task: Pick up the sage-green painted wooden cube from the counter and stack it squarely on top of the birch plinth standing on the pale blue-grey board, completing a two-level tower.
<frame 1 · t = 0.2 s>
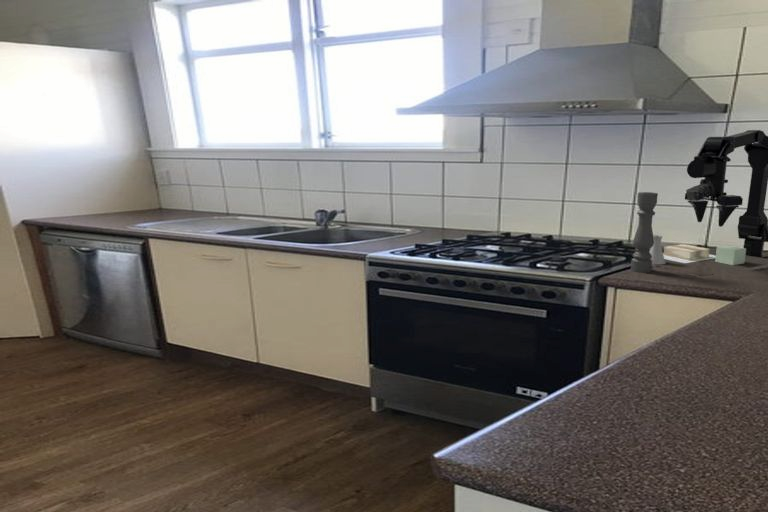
hand: (709, 224, 180), 14 cm above the worktop, tool pointing down, fingers open, 9 cm apart
birch plinth: (685, 256, 193), resting on pale blue-grey board
pale blue-grey board: (685, 258, 193), on the worktop
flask: (654, 265, 185), on the worktop
sage cube: (729, 265, 183), on the worktop
candle holder: (641, 270, 178), on the worktop
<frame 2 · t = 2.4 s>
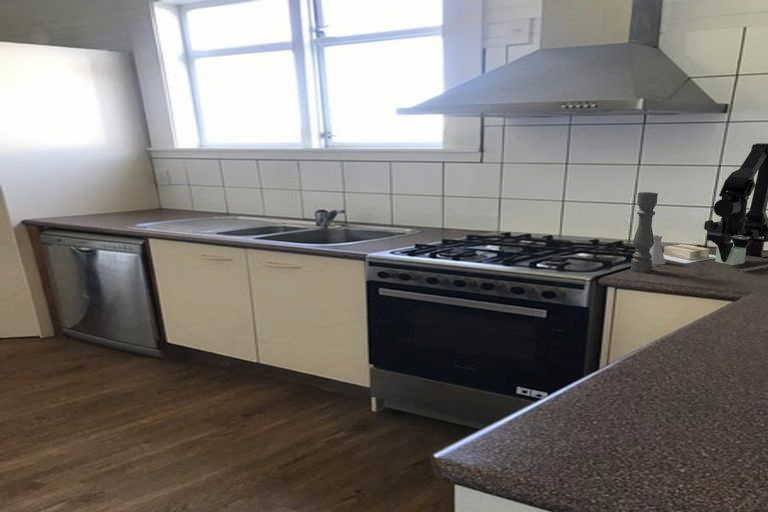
hand: (729, 260, 183), 2 cm above the worktop, tool pointing down, fingers closed on sage cube, 6 cm apart
sage cube: (729, 265, 183), on the worktop, touching gripper
everything else where it was.
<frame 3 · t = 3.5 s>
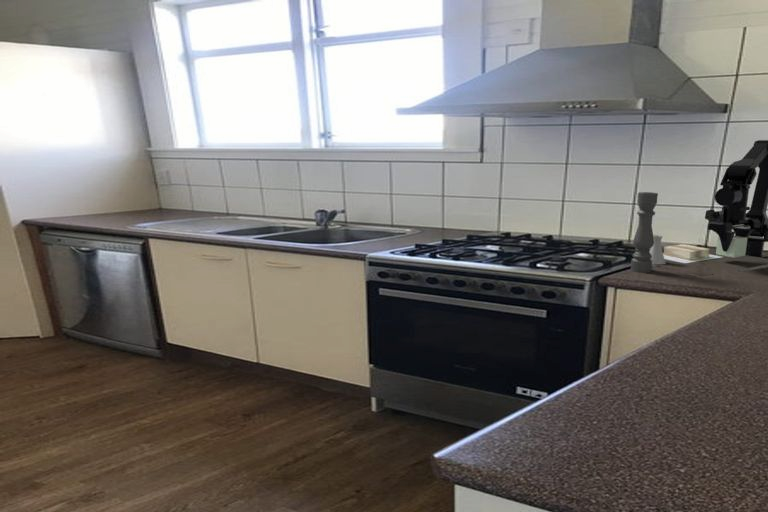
hand: (731, 250, 182), 5 cm above the worktop, tool pointing down, fingers closed on sage cube, 6 cm apart
sage cube: (730, 254, 182), point 4 cm above the worktop, touching gripper
everything else where it was.
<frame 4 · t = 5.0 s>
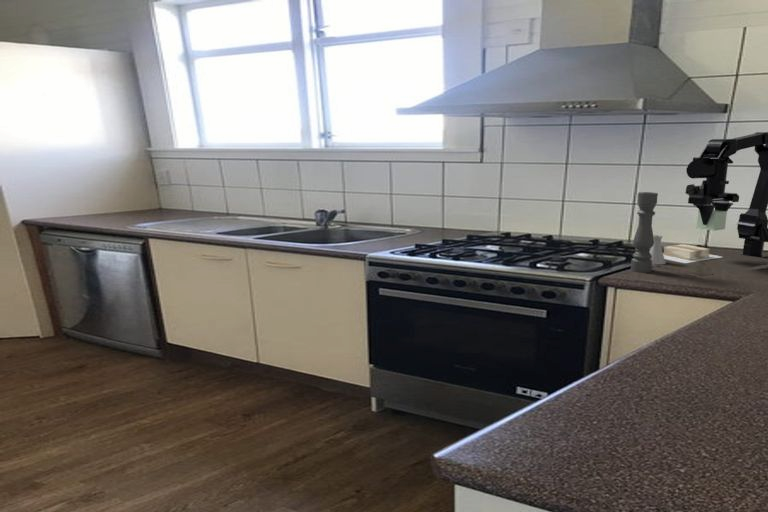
hand: (710, 224, 185), 13 cm above the worktop, tool pointing down, fingers closed on sage cube, 6 cm apart
sage cube: (710, 228, 186), point 12 cm above the worktop, touching gripper
everything else where it was.
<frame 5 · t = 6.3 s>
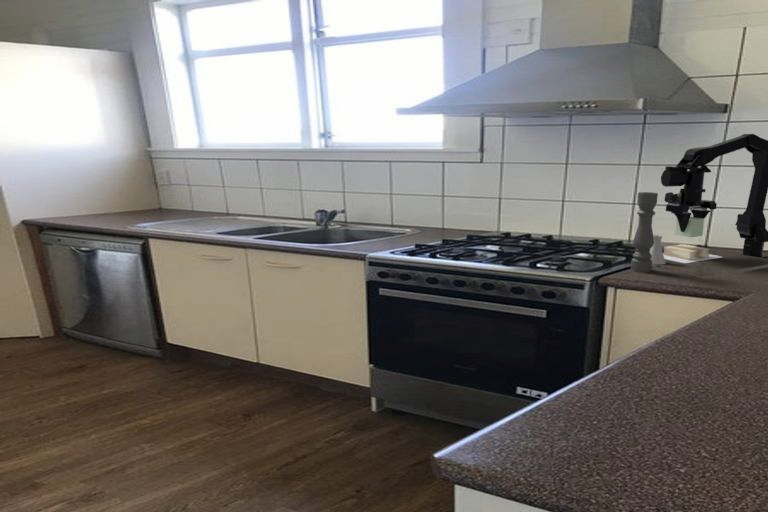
hand: (688, 230, 191), 10 cm above the worktop, tool pointing down, fingers closed on sage cube, 6 cm apart
sage cube: (688, 235, 191), point 8 cm above the worktop, touching gripper
everything else where it was.
when the fingers open (6 cm above the worktop, at t = 7.5 s): sage cube stays where it is, resting on birch plinth.
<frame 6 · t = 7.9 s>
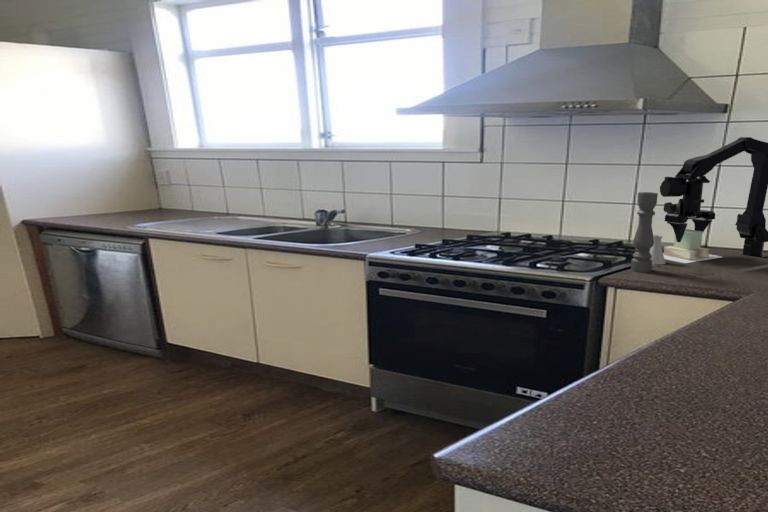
hand: (687, 240, 192), 6 cm above the worktop, tool pointing down, fingers open, 9 cm apart
sage cube: (687, 247, 192), point 4 cm above the worktop, touching birch plinth
everything else where it was.
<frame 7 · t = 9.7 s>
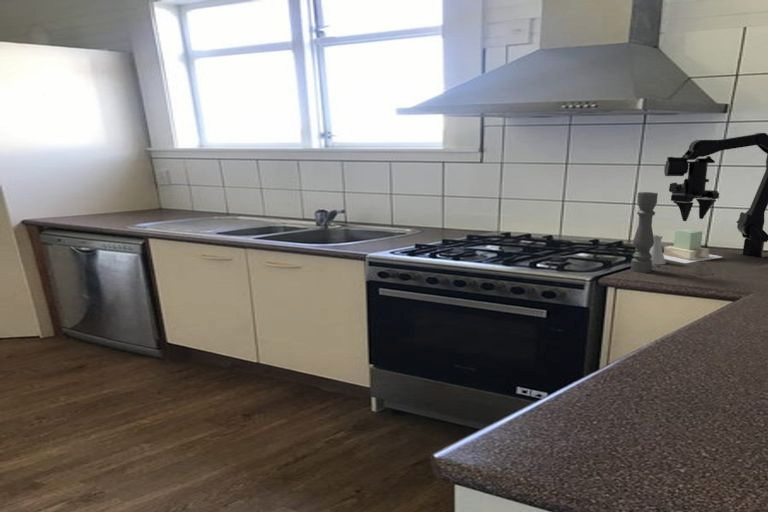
hand: (692, 219, 197), 13 cm above the worktop, tool pointing down, fingers open, 9 cm apart
nothing on the worktop moved.
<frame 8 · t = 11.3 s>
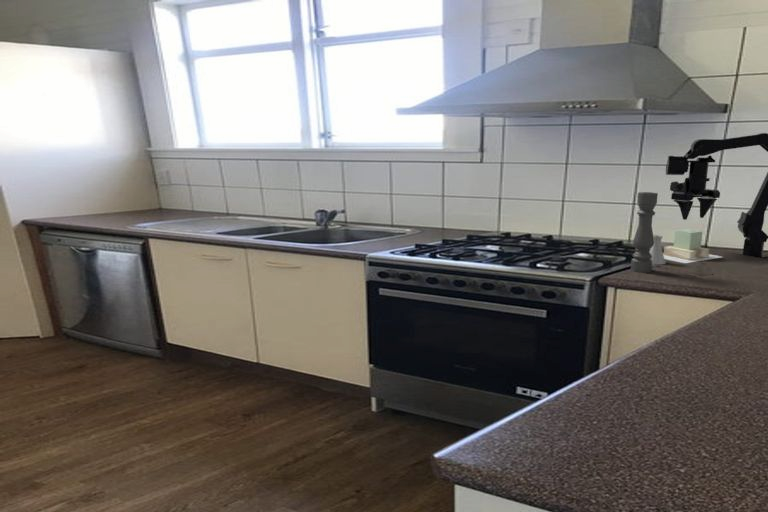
hand: (693, 218, 199), 13 cm above the worktop, tool pointing down, fingers open, 9 cm apart
nothing on the worktop moved.
at the end: sage cube 0.1 cm off-centre on the birch plinth, point 3.0 cm above the birch plinth's base; sage cube tilted 0°; the gripper is holding nothing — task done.
